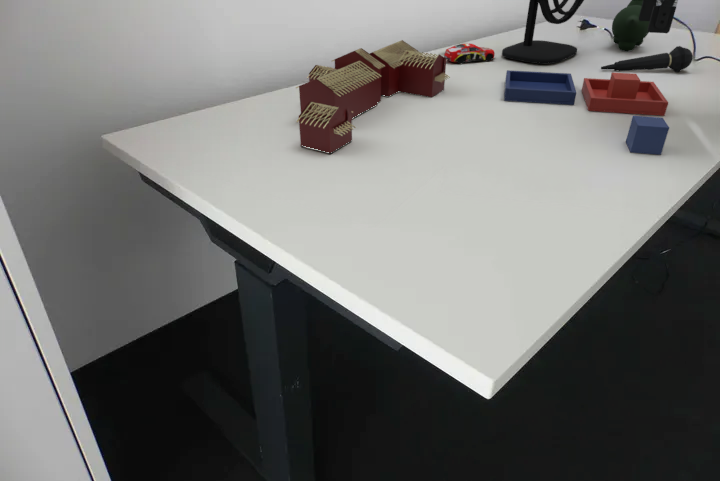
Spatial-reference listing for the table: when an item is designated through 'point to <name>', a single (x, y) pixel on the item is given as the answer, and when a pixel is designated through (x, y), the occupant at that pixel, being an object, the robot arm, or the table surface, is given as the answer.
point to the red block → (623, 86)
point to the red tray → (645, 102)
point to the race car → (468, 53)
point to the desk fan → (543, 49)
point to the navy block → (647, 135)
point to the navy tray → (539, 87)
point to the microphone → (656, 61)
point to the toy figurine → (629, 27)
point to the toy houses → (362, 89)
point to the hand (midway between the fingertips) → (652, 26)
